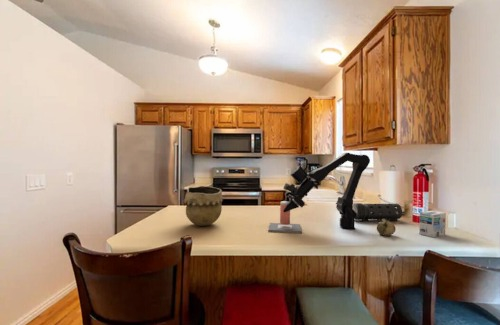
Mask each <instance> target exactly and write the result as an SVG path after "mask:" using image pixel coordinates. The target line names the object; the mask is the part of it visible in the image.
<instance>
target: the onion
mask: <svg viewBox="0 0 500 325" xmlns="http://www.w3.org/2000/svg"><path fill="white" fill-rule="evenodd" d="M377 223H378V224H377V226H376V231H377V233H378V234H379V235H381V236H384V237H385V236H386V237H390V236H392V235H393V234H394V233H395V232H396V230H397V229H396V226H395V225H394V224H393V223H392V222H390V220H385V219H382V220H381V221H378V222H377Z"/></svg>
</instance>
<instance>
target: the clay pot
mask: <svg viewBox="0 0 500 325" xmlns="http://www.w3.org/2000/svg"><path fill="white" fill-rule="evenodd" d="M222 191H223V190H222V189H221V188H218V187H213V186H210V185H209V186H208V185H200V186H199V185H198V186H194V187H191V186H189V187H187V190H186V193H185V195H184V199H183V201H182V203H183V204H184V205H186V206H185V215H186V217H187V219H188V220H189V221H190V222H191V223H192V224H194V225H196V226H201V227H203V226H210V225H212V224H214V223H215V222H216V221H217V220H218V219H219V218H220V216H221V215H222V211H223V210H222V209H223V208H222V206H223V205H222V203H223V201H224V198H223V192H222Z"/></svg>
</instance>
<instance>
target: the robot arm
mask: <svg viewBox="0 0 500 325" xmlns="http://www.w3.org/2000/svg"><path fill="white" fill-rule="evenodd" d="M346 162H350V163H352V165H351V166H352V171H351V174H350V176H349V180H348V182H347V184H346V188H345V190H344V193H343V195H342V196H341V197H339V196H338V198H337V201H336V202H335V206H336V210H337V211H338V213H339V215H340V218H339V226H340V228H341V229H343V230H356V227H355V220H356V219H355V218H356V216H357V213H356V212H355V211H354V210H353V204H354V196H355V193H356V190H357V188H358V185H359V182H360V179H361V176H362V174H363V172H364V171H365V170H366V169H367V168H368V167H369V164H370V163H371V159H370V156H368V155H367V154H355V153H351V152H343V153H342V154H341V155H339V156H338V157H336V158H335V159H333V160H331V161H330V162H328V163H326V164H325V165H324V166H321V167H317V168H316V169H312V170H311V171H310V172H307V171H305V170H304V169H303V167H302V166H301V165H299V166H297V167H296V168H295V169H293V170H292V171H291V172H290V174H289V175H290V176H291V177H292V178H293V179H294V180H295V181H296V182H297V183H300V184H299V185H297V186H296V185H295V184H294V183H290V184H289V183H287V182H285V184H284V186H283V189H284V190H285V191H286V192H285V193H284V196H285V200H284V201H289V203H288V205H287V206H286V207H285V209H284V210H283V211H284V212H287V211H290V212H291V211H292V210H294V209H297V208H301V209H302V208H303V207H304V206H306V205H305V201H304V200H303V199H304V198H305V197H307V196H308V195H309V192H311V191H312V190H313V188H314V189H316V190H318V189H319V183H316V182H323V180H325V179H326V178H327V177H328V175H329V174H330V173H331V172H333V171H335V170H336V169H337V168H339V167H341V166H342V165H343V164H345V163H346Z"/></svg>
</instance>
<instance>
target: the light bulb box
mask: <svg viewBox="0 0 500 325" xmlns="http://www.w3.org/2000/svg"><path fill="white" fill-rule="evenodd" d="M446 217H447V213H446V212H443V211H442V212H441V211H438V210H437V211H435V210H427V211H419V227H418V229H419V233H418V234H419V235H423V236H427V237H430V238H436V237H443V236H446V225H447V224H446V223H447V222H446V220H447V218H446Z"/></svg>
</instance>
